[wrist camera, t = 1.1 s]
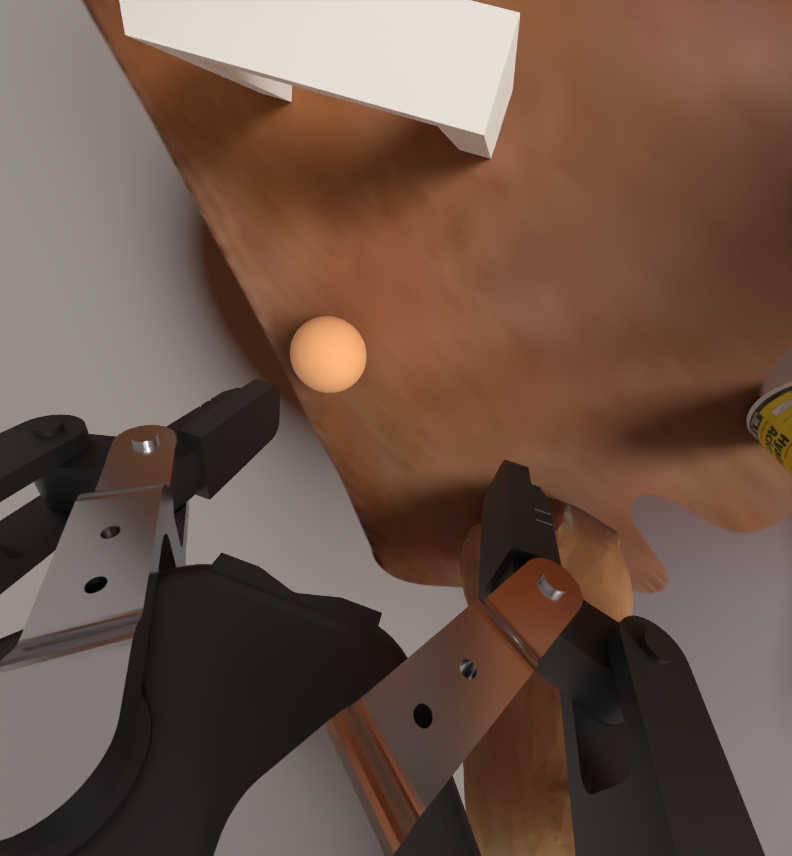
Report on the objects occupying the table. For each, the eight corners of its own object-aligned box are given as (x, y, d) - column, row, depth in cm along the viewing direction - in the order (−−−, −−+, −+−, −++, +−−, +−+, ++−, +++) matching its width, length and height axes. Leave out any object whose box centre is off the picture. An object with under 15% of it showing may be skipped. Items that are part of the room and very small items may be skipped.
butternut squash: (525, 573, 40) (549, 944, 20) (441, 509, 38) (373, 858, 18) (642, 526, 32) (871, 1065, 12) (544, 442, 30) (629, 937, 10)
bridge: (261, 23, 19) (102, -92, 12) (512, 90, 18) (520, 13, 11) (262, 93, 21) (125, 34, 13) (490, 158, 20) (483, 135, 12)
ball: (314, 297, 28) (275, 318, 23) (382, 320, 27) (356, 346, 23) (309, 361, 31) (274, 391, 27) (369, 382, 31) (344, 416, 26)
